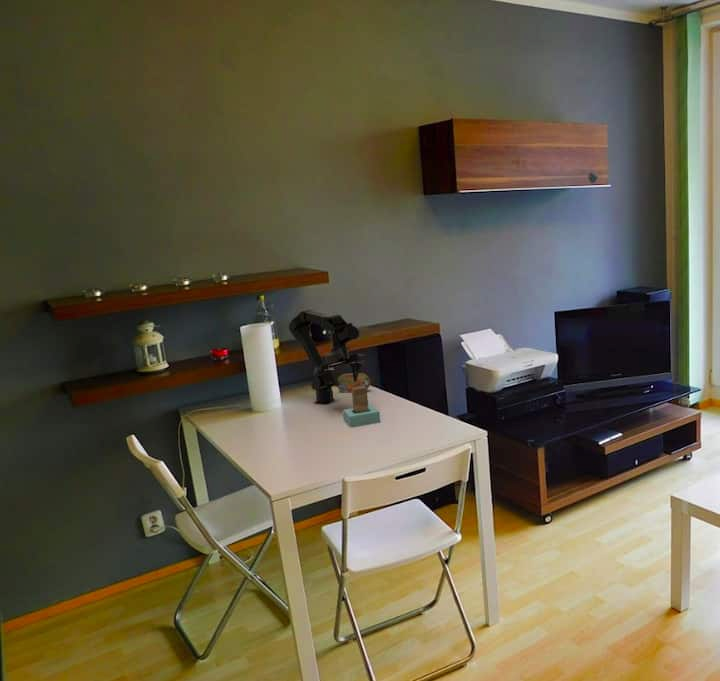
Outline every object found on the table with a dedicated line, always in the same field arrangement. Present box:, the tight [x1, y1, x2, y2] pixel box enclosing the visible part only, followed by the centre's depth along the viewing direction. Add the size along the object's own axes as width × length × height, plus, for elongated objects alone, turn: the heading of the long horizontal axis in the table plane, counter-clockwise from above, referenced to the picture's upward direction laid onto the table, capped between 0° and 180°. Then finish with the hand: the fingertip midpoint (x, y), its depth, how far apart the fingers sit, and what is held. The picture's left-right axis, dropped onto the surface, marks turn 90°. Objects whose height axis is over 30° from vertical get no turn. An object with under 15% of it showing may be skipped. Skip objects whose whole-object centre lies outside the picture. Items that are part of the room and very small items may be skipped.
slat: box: [351, 386, 369, 414], centre depth 229 cm, size 3×5×13 cm, turn 107°
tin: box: [337, 372, 371, 394], centre depth 271 cm, size 15×3×8 cm, turn 76°
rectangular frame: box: [342, 404, 381, 428], centre depth 230 cm, size 10×12×4 cm
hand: (345, 384), depth 241 cm, fingers open, 9 cm apart
